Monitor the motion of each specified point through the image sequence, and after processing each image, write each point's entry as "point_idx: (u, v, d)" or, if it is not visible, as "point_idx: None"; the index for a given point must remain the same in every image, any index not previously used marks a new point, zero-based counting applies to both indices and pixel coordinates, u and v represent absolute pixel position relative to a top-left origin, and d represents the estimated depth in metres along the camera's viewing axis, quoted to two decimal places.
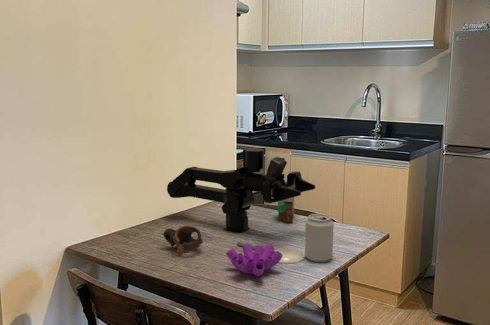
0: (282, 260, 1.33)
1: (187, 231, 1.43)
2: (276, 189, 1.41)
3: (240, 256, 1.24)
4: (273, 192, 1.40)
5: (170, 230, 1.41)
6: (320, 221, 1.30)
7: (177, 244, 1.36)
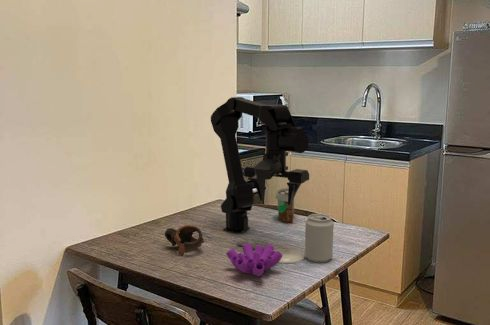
0: (282, 260, 1.33)
1: (188, 231, 1.44)
2: None
3: (240, 256, 1.24)
4: None
5: (171, 230, 1.41)
6: (320, 221, 1.30)
7: (178, 244, 1.37)
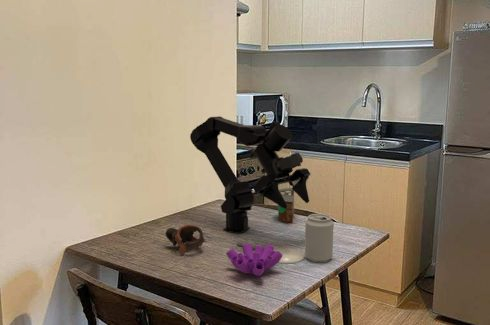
0: (282, 260, 1.33)
1: (189, 230, 1.44)
2: (269, 188, 1.36)
3: (240, 256, 1.24)
4: (265, 189, 1.36)
5: (172, 229, 1.42)
6: (320, 221, 1.30)
7: (179, 243, 1.37)
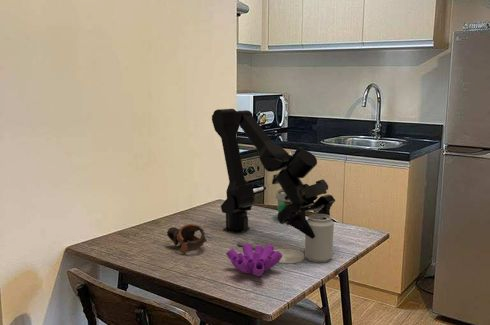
0: (282, 260, 1.33)
1: (190, 230, 1.45)
2: (296, 217, 1.31)
3: (240, 256, 1.24)
4: (291, 218, 1.31)
5: (174, 229, 1.42)
6: (320, 221, 1.30)
7: (181, 242, 1.38)
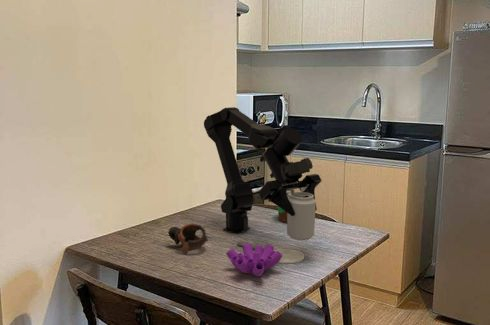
0: (282, 260, 1.33)
1: (191, 229, 1.45)
2: (277, 194, 1.31)
3: (240, 256, 1.24)
4: (272, 195, 1.31)
5: (175, 228, 1.43)
6: (301, 199, 1.30)
7: (182, 242, 1.38)
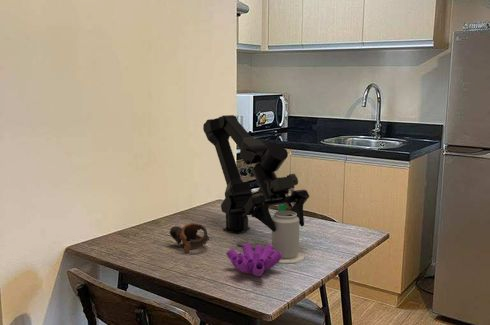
0: (282, 260, 1.33)
1: (193, 229, 1.46)
2: (259, 210, 1.33)
3: (240, 256, 1.24)
4: (254, 210, 1.33)
5: (176, 228, 1.43)
6: (283, 217, 1.32)
7: (184, 241, 1.39)
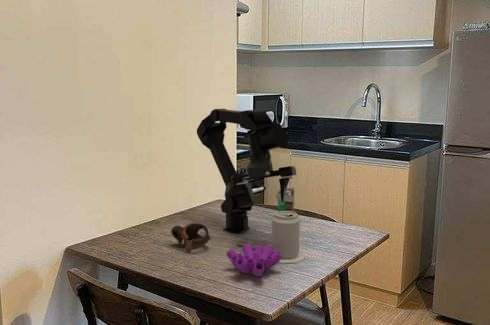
0: (282, 260, 1.33)
1: (194, 228, 1.46)
2: None
3: (240, 256, 1.24)
4: None
5: (178, 227, 1.44)
6: (283, 218, 1.32)
7: (186, 241, 1.39)
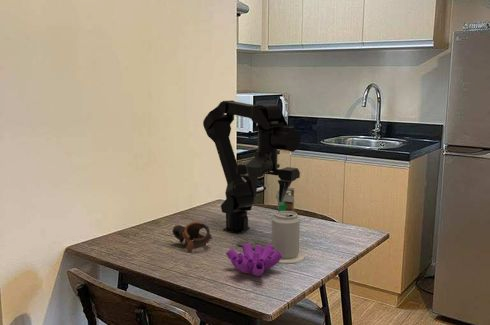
0: (282, 260, 1.33)
1: (195, 227, 1.47)
2: None
3: (240, 256, 1.24)
4: None
5: (179, 227, 1.44)
6: (283, 218, 1.32)
7: (187, 240, 1.40)
